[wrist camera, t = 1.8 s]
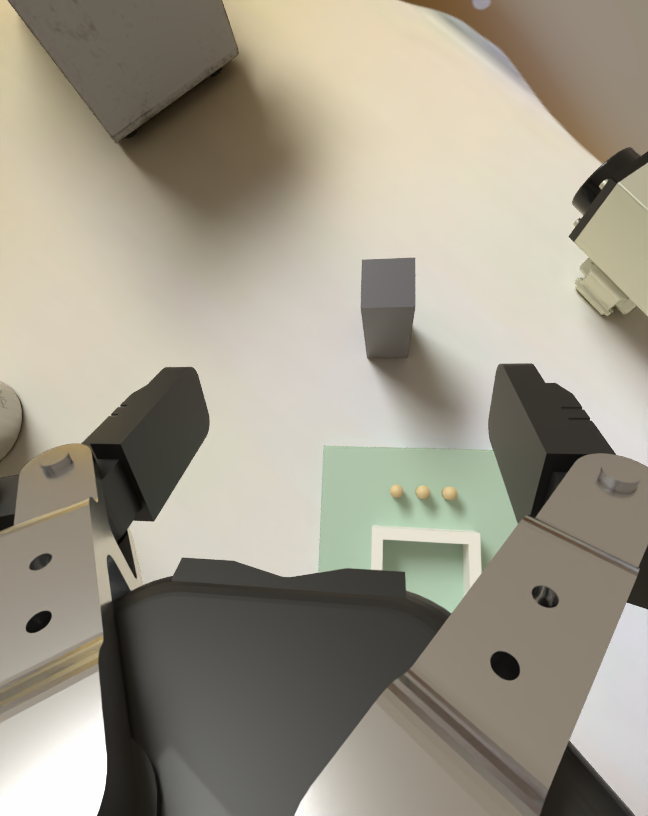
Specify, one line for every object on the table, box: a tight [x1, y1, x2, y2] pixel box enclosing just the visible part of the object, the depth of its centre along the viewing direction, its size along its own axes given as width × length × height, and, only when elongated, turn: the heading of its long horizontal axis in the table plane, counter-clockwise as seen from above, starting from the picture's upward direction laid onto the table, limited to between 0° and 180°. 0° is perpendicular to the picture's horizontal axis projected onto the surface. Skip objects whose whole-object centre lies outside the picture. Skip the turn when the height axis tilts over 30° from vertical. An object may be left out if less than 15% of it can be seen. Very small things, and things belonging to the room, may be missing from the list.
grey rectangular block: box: [361, 258, 415, 358], centre depth 32 cm, size 4×4×10 cm
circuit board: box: [318, 446, 518, 613], centre depth 31 cm, size 20×16×4 cm
